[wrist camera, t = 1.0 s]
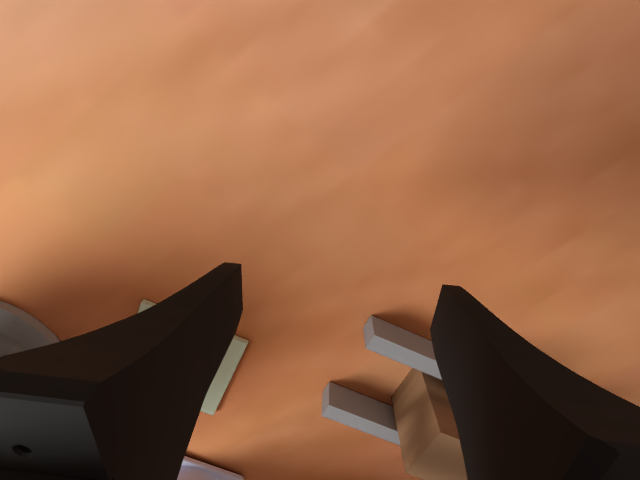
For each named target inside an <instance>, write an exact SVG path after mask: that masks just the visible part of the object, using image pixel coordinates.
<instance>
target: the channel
mask: <svg viewBox="0 0 640 480" xmlns="http://www.w3.org/2000/svg"><path fill="white" fill-rule="evenodd" d="M363 331H364V339H365V347H366V349H369V350H371V351H373V352H376V353H378V354H381V355H383V356H385V357H388V358H390V359H393V360H395V361H398V362H400V363H402V364H405V365H407V366H410V367H412V368H414V369H417V370H419V371H422V372H424V373H427V374H429V375H431V376H434V377H436V378H439V379H441V380H442V378H441V375H440V372H439V368H438V365H437V362H436V359H435V355H434V350H433V345H432V341H430V340H428V339H426V338H423V337H421V336H419V335H416V334H414V333H412V332H409V331H407V330H405V329H402V328H400V327H398V326H395V325H393V324H391V323H388V322H386V321H384V320H381V319H379V318H377V317H374V316H372V315H371V316H370V318H369V319H368V321H367V323H366V324H365V326H364V327H363ZM322 416H323V417H326V418H329V419H331V420H334V421H337V422H339V423H342V424H345V425H347V426H350V427H352V428H355V429H358V430H360V431H363V432H366V433H368V434H371V435H374V436H376V437H379V438H381V439H384V440H387V441H389V442H392V443H395V444H397V445H400V441H399V436H398V430H397V425H396V420H395V414H394V409H393V407H392V406H390V405H387V404H385V403H382V402H380V401H377V400H375V399H372V398H370V397H367V396H364V395H362V394H359V393H357V392H354V391H352V390H349V389H347V388H344V387H342V386H339V385H337V384H334V383H332V382H329V383H328V385H327V386H326V388H325V389H324V391H323V398H322Z"/></svg>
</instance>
